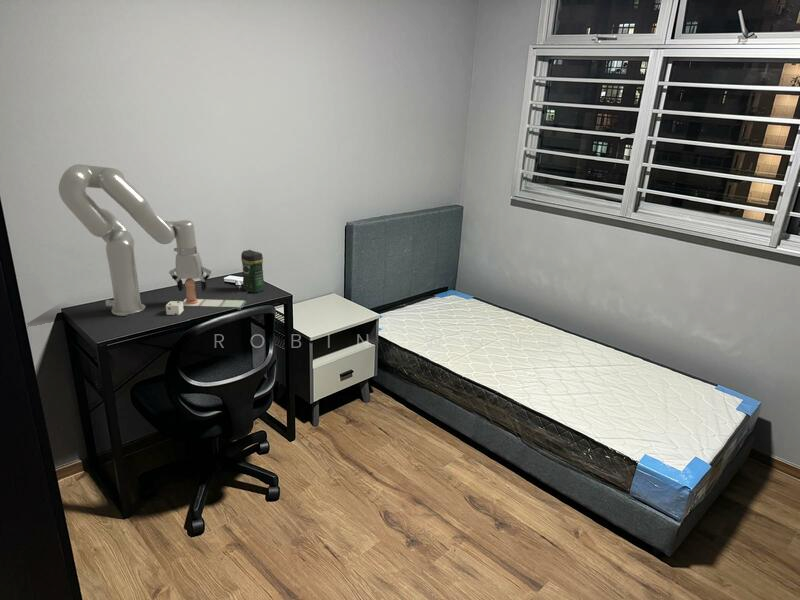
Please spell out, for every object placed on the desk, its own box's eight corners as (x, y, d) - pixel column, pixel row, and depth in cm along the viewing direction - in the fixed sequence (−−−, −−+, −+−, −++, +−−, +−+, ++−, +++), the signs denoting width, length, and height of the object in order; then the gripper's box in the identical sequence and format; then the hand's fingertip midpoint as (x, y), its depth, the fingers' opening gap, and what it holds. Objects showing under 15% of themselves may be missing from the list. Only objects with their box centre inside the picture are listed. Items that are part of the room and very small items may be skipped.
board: (177, 308, 234) (177, 305, 233) (184, 300, 242) (184, 298, 242) (240, 309, 234) (240, 307, 234) (246, 302, 243) (245, 300, 242)
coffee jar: (267, 290, 258) (265, 251, 252) (253, 294, 252) (251, 254, 246) (254, 285, 264) (252, 247, 258) (240, 289, 258) (237, 250, 252)
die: (166, 317, 224) (165, 304, 222) (171, 312, 229) (170, 300, 227) (179, 317, 224) (177, 305, 222) (183, 312, 229) (182, 300, 227)
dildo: (184, 304, 235) (181, 280, 232) (188, 300, 240) (185, 276, 236) (195, 304, 235) (193, 280, 232) (199, 300, 240) (197, 277, 236)
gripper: (162, 253, 226) (168, 293, 232) (205, 253, 227) (210, 292, 233) (169, 248, 233) (175, 287, 239) (211, 248, 234) (215, 287, 240)
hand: (192, 290), depth 236 cm, fingers open, 9 cm apart
